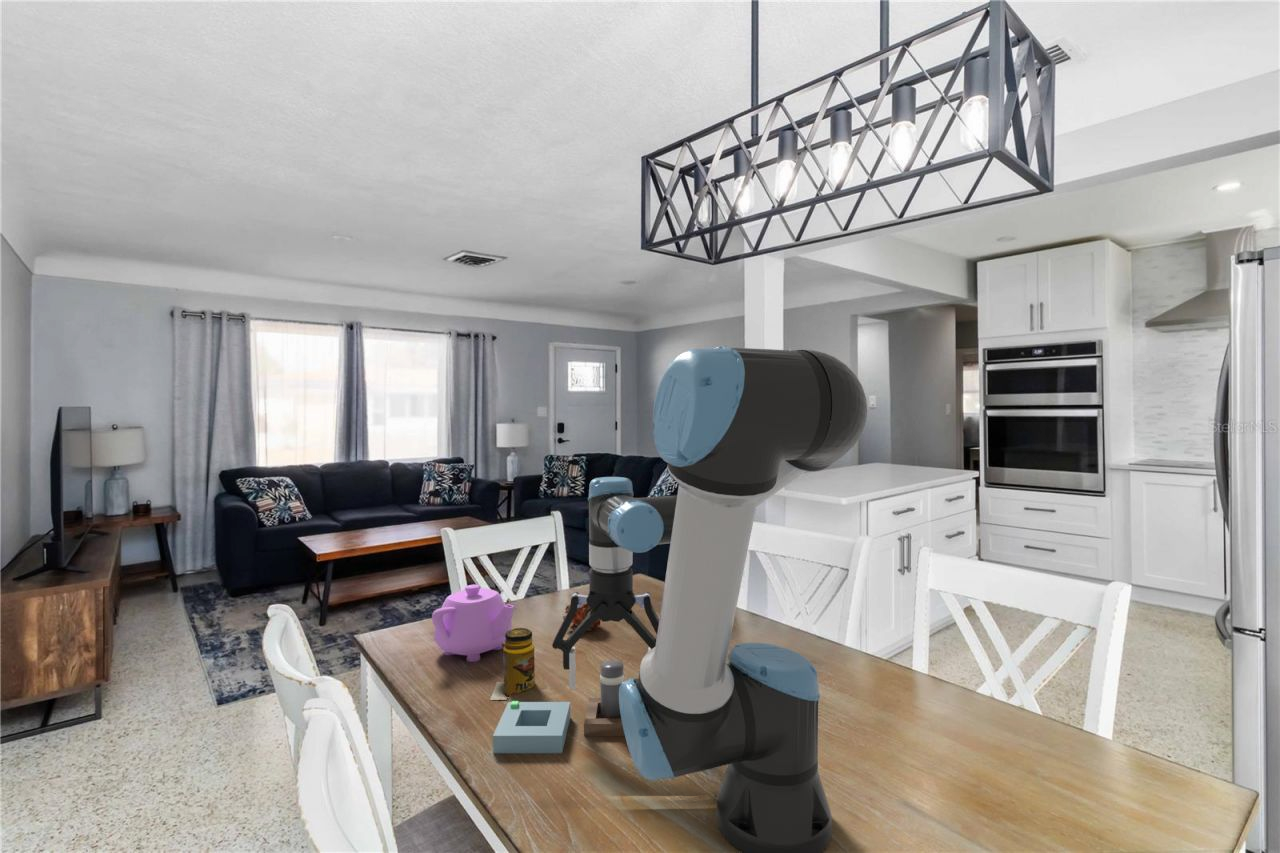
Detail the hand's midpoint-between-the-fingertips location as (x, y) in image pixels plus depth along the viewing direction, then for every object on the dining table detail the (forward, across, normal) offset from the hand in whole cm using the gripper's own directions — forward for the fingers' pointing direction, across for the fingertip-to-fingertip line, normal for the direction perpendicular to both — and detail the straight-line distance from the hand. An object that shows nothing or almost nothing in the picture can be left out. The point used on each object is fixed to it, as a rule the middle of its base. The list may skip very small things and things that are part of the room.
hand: (611, 686), depth 107 cm
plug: (+6, 0, 0) cm, 6 cm away
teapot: (+8, +33, -32) cm, 46 cm away
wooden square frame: (+7, 0, 0) cm, 7 cm away
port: (+7, +13, +4) cm, 15 cm away
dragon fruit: (+8, +10, -48) cm, 49 cm away
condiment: (+8, +20, -14) cm, 25 cm away
